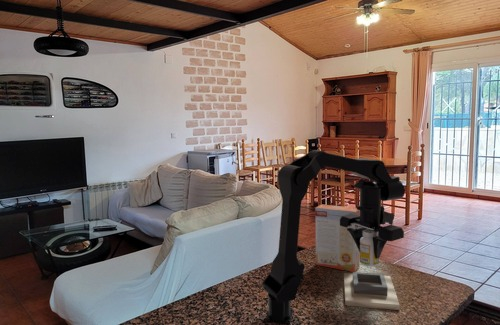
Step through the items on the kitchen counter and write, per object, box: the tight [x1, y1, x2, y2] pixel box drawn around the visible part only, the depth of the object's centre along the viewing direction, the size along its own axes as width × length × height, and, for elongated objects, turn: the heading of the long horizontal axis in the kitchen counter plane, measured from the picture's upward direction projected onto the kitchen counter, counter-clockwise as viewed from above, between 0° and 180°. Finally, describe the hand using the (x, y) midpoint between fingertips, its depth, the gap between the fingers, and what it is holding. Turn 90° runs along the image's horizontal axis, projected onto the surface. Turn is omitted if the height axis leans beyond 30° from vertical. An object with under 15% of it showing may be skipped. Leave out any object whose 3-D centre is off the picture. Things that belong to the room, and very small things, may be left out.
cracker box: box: [314, 204, 361, 273], centre depth 128 cm, size 14×6×21 cm, turn 58°
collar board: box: [343, 271, 401, 311], centre depth 109 cm, size 18×14×4 cm
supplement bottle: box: [360, 229, 380, 268], centre depth 108 cm, size 5×5×10 cm
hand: (369, 255), depth 108 cm, fingers closed on supplement bottle, 5 cm apart
